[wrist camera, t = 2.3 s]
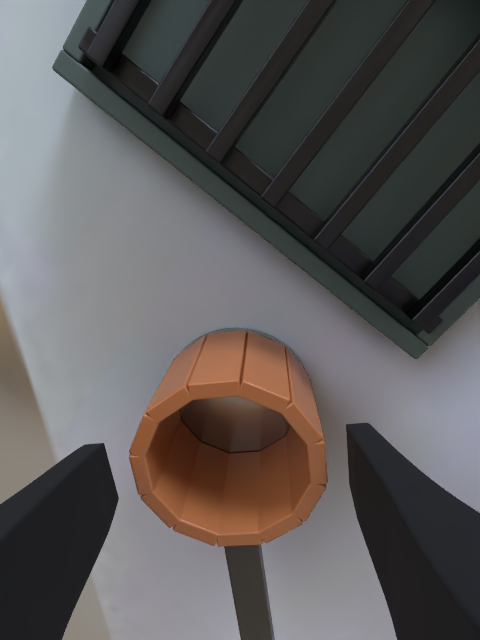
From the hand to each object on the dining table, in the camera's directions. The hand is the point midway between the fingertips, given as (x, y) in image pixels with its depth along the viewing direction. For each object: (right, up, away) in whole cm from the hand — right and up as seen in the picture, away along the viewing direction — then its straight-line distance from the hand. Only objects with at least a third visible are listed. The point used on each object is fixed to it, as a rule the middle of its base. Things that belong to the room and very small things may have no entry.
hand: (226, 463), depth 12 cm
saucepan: (+1, -2, +5) cm, 5 cm away
